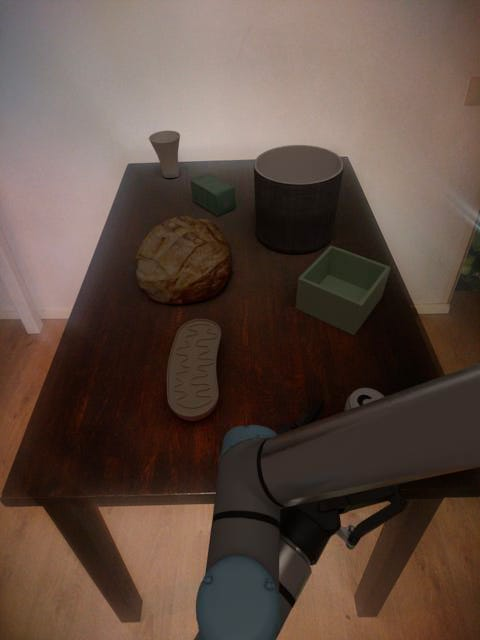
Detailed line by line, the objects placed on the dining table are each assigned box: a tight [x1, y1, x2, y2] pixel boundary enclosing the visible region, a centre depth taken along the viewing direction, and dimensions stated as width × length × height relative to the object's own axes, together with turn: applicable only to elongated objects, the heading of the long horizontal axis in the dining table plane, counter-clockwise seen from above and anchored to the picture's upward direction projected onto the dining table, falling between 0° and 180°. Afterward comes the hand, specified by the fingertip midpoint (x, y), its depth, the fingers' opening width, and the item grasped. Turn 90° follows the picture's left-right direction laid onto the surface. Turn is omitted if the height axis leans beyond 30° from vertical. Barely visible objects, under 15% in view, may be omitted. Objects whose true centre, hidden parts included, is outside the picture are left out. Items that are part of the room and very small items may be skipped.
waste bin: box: [295, 244, 392, 336], centre depth 86 cm, size 15×15×9 cm
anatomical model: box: [166, 318, 222, 422], centre depth 74 cm, size 23×10×5 cm, turn 0°
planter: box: [253, 144, 345, 255], centre depth 102 cm, size 22×22×20 cm
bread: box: [134, 214, 235, 305], centre depth 94 cm, size 25×27×15 cm
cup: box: [148, 130, 181, 174], centre depth 133 cm, size 10×10×14 cm
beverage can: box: [342, 387, 385, 412], centre depth 61 cm, size 6×6×12 cm
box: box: [190, 172, 236, 217], centre depth 119 cm, size 7×14×8 cm, turn 41°
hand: (360, 425), depth 60 cm, fingers open, 13 cm apart
